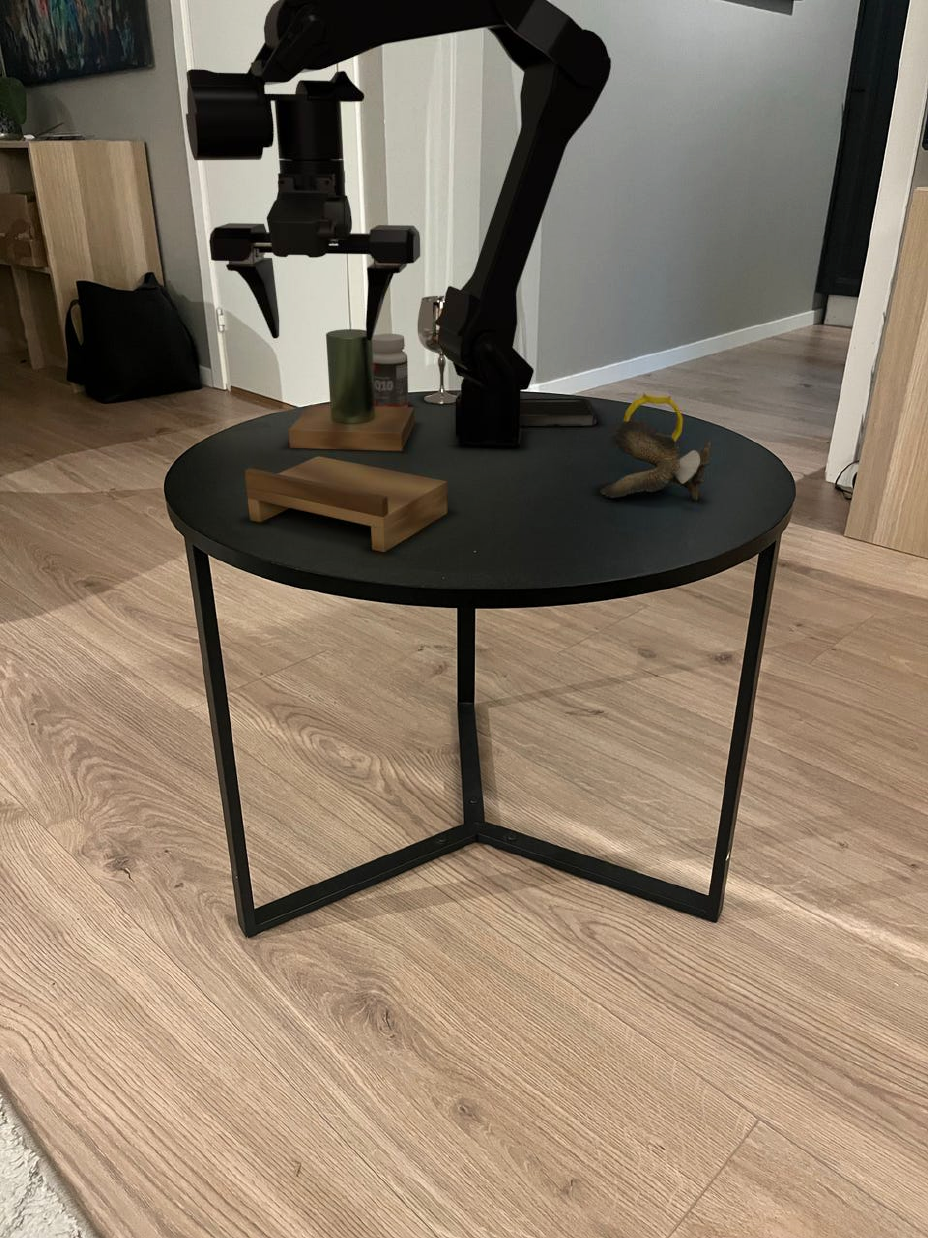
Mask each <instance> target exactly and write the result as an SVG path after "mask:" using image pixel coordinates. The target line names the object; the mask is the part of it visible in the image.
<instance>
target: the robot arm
mask: <svg viewBox="0 0 928 1238" xmlns="http://www.w3.org/2000/svg"><path fill="white" fill-rule="evenodd" d="M480 29H487V30H488V31H489V32H490V33H492V35H493V36H494V37H495V39H496V40H497V42H498V43H499V45H500V46H501V48H502V49H503V51H504V52H505V54H506V55H507V57H508V58H509V59H510V60H511V61H512V63H514V65H515V66H517V67H518V68H519V69H520V70H521V71H522V72H523V77H522V82H521V87H520V93H519V99H520V125H521V126H520V131H519V134H518V138H517V140H516V143H515V146H514V148H513V149H514V150H513V152H512V155H511V159H510V162H509V164H508V168H507V171H506V174H505V177H504V179H503V184H502V185H501V186H502V187H501V189H500V192H499V195H498V198H497V200H496V203H495V207H494V210H493V213H492V216H491V219H490V222H489V225H488V228H487V230H486V234H485V237H484V240H483V243H482V246H481V249H480V252H479V256H478V259H477V261H476V264H475V267H474V270H473V273H472V274H471V276H470V278H469V279H468V280H467V281H466V282H465V284H464V285H463V286H462V287H461V289H460V288H456V287H455V286H452V285H449V286H447V289H446V291H445V294H444V296H445V300H444V305H443V309H442V312H441V314H440V316H439V317H438V318H437V320H436V321H435V324H436V325H438V326H439V332H438V344H439V346H440V348H441V350H442V353H443V354H444V357H445V359H447V360H448V361H450V362H452V364H453V368H454V370H455V373H456V375H457V376H458V377H461V378H462V380H461V383H460V391H459V392H458V393H457V394H456V396H457V397H456V402H455V436H457V437H459V439H458V446H460V447H480V448H481V447H485V448H486V447H487V448H520V447H521V439H522V438H521V437H522V426H520V409H521V399H522V391H525V390H528V389H529V388H530V384H531V381H532V378H533V377H534V372H535V371H534V368H533V367H532V365H530V364H529V363H528V361H526V359H525V358H524V357H523V356H521V354H520V353H519V352H517V350H516V349H515V348H514V343H515V338H516V333H517V326H518V302H517V301H518V300H517V293H518V292H517V291H518V287H519V284H520V281H521V278H522V275H523V273H524V269H525V266H526V264H527V261H528V259H529V255H530V253H531V250H532V246H533V243H534V240H535V237H536V235H537V232H538V229H539V226H540V223H541V220H542V217H543V214H544V212H545V208H546V207H547V203H548V200H549V198H550V194H551V192H552V188H553V186H554V183H555V180H556V177H557V174H558V171H559V169H560V165H561V163H562V160H563V157H564V154H565V152H566V148H567V147H568V144H569V142H570V140H571V139H572V138H573V137H574V135H575V134H576V133H577V131H579V129H580V128H581V126H582V125H583V124H584V123H585V122H586V121H587V119H588V118H589V117H590V115H591V114H592V112H593V110H594V108H595V107H596V104H597V102H598V101H599V99H600V97H601V95H602V93H603V91H604V89H605V87H606V85H607V83H608V80H609V78H610V74H611V68H612V59H611V57H610V56H609V52H608V51H609V50H608V47H607V46H606V44H605V42H604V40H603V39H602V37H601V36H599V35H598V34H597V33H595V32H594V31H592V30H589V29H585V28H584V29H583V28H582V27H581V26H580V25H579V24H578V23H577V22H576V20H575V19H574V18H572V17H571V16H570V15H569V14H567V13H566V12H564V11H563V10H561V9H560V8H558V7H557V6H556V5H554V4H553V3H552V2H550V1H548V0H277V1H275V2H274V3H272V5H271V6H270V8H269V10H268V12H267V14H266V16H265V19H264V24H263V35H264V43H263V45H262V46H261V48H260V50H259V51H258V53H257V54H256V56H255V58H254V60H253V61H252V62H250V66H249V68H248V70H247V72H216V71H212V70H208V69H200V68H197V69H195V68H191V69H188V70H187V71H186V73H185V74H186V82H187V88H186V89H187V90H186V91H187V92H186V104H187V113H185V122H186V130H187V136H188V142H189V143H188V144H189V147H190V152H191V155H192V158H193V160H194V161H260V160H261V159H262V158H263V154H264V148H265V149H266V148H267V149H268V148H272V147H273V145H274V137H275V130H274V129H275V128H274V125H275V124H276V136H277V151H278V163H279V165H278V166H279V173H277V177H278V178H277V193H276V199H275V200H274V201H273V202H272V205H271V207H270V209H269V211H268V214H267V215H266V223H267V228H268V231H267V229H266V225H265V223H253V222H252V223H250V222H249V223H246V222H243V223H241V222H240V223H239V222H238V223H237V222H229V223H228V222H227V223H226V224H222V225H219V226H216V227H214V228H213V230H212V231H211V233H210V235H209V241H208V243H209V252H210V261H214V262H228V263H227V264H225V267H226V269H227V271H229V272H236V273H238V275H239V276H240V277H241V278H242V279H243V280H244V281H245V282H246V284H247V285H248V288H249V289H250V291H251V293H252V295H253V296H254V298H255V300H256V303H257V305H258V308H259V309H260V311H261V314H262V317H263V319H264V321H265V324H266V325H267V328H268V330H269V332H270V333H269V334H270V335H271V337H272V339H278V338H279V337H280V314H279V313H280V312H279V305H278V296H277V287H276V280H275V279H276V278H275V271H274V261H273V257H265V256H264V255H266V254H273V256H275V257H278V258H287V257H289V256H307V257H308V258H313V259H315V258H321V257H324V256H326V255H369V256H371V259H373V263H371V264H370V265H369V266H367V267H366V272H367V273H366V275H367V299H366V316H365V330H366V335H367V340H372V338H373V335H375V332H376V327H377V324H378V320H379V317H380V313H381V310H382V307H383V303H384V300H385V297H386V294H387V292H388V289H389V287H390V284H391V282H392V279H393V277H394V275H395V274H400V273H401V272H403V271H404V270H405V269H406V268H407V266H408V264H414V263H415V262H417V260H418V259H419V258H420V257H421V235H420V231H419V230H418V229H417V228H416V226H415V225H408V224H407V225H405V224H404V225H403V224H401V225H400V224H395V225H394V224H377V225H376V226H374V227H372V228H371V229H370V230H369V232H368V233H367V232H366V233H364V232H362V233H361V232H358V233H357V232H352V229H353V219H352V211H351V206H350V202H349V198H348V195H347V194H346V170H345V160H344V142H343V141H344V139H343V121H342V120H343V119H342V118H343V117H342V103H361V102H363V101H364V99H365V94H364V92H363V91H362V90H360V89H359V87H357V86H356V85H355V83H354V82H352V80H351V79H350V78H349V76H348V74H347V72H346V71H345V70H340V71H335V73H334V74H333V76H332V78H331V79H330V80H321V79H320V80H317V79H316V80H314V79H313V80H311V79H300V80H299V81H298V82H297V84H296V86H295V92H294V93H266V90H265V89H266V88H265V87H266V86H272V85H273V86H274V85H278V84H286V83H288V82H290V81H291V80H293V79H294V78H295V77H296V76H298V75H299V74H305V73H310V72H316V71H317V72H318V71H321V70H325V69H328V68H330V67H333V66H335V65H337V64H340V63H343V62H345V61H347V60H350V59H353V58H355V57H357V56H360V55H362V54H365V53H366V52H368V51H372V50H373V49H376V48H378V47H381V46H384V45H390V44H395V43H401V42H407V41H415V40H420V39H425V38H431V37H432V38H433V37H438V36H443V35H449V34H457V33H461V32H466V31H473V30H480ZM272 102H274V110H275V113H274V114H275V124H274V116H273V115H274V114H273V108H272Z"/></svg>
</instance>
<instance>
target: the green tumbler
mask: <svg viewBox="0 0 928 1238" xmlns="http://www.w3.org/2000/svg"><path fill="white" fill-rule="evenodd" d="M325 341H326V355H327V356H326V357H327V358H326V359H327V360H326V361H327V375H328V391H329V405H330V408H331V419H332V420H333V421H335V422H338V423H344V424H359V423H366V422H369V421H372V420H374V419H375V395H374V371H373V346H372V340H367V335H366V329H360V328H359V329H357V328H356V329H355V328H345V329H343V328H342V329H335V330H331V331H328V332H326V333H325Z"/></svg>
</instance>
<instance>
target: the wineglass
mask: <svg viewBox="0 0 928 1238" xmlns="http://www.w3.org/2000/svg"><path fill="white" fill-rule="evenodd" d="M444 300H445V295H430V296H424V297H422V298H421V300H420V305H419V309H418V315H417V336H418V340H419V342H420V344H421V345H422V346H423V347H424V348H425V349H426V350H428V351H430V352H432V353H435V354H438V355H439V356H438V357H437V366H438V372H439V389H438V391H437V392H435V393H432V394H428V395H425V397H424V398H423V400H424V401H425V402H427V403H431V404H441V405H442V404H443V405H445V404H446V405H447V404H453V403H456V397H457V394H451V393H448V392H447V391H446V389H445V384H444V383H445V382H444V381H445V380H444V379H445V378H444V377H445V375H444V374H445V367H446V363H447V362H446V356H445V355H444V354H443V353H442V350H441V348H440V346H439V344H438V332H439V326H438V325H436V324H435V321H436V320H437V318H438V317H439V316H440V314H441V312H442V309H443V305H444Z"/></svg>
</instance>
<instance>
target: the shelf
mask: <svg viewBox="0 0 928 1238" xmlns="http://www.w3.org/2000/svg"><path fill="white" fill-rule="evenodd" d="M244 478H245V486H246V495H247V504H248V506H247V507H248V514H249V520H250V521H251V522H256V523H262V522H265V521H266V520H269V519H271V518H273V517H275V516H277V515H279V514H281V513H283V512H285V511H287V510H290V509H293V510H298V511H303V512H307V513H310V514H315V515H319V516H323V517H329V518H333V519H337V520H341V521H346V522H349V523H350V522H351V523H355V524H359V525H363V526H369V527H370V532H371V549H372V550H373V551H377V552H381V553H385V552H387V551H389V550H391V549H392V548H394V547H395V546H397V545H399V544H400V543H402V542H404V541H405V540H407V539H409V538H410V537H411V536H413V535H415V534H416V533H418V532H419V531H421V530H423V529H425V528H426V527H428V526H430V525H431V524H433V523H434V522H436V521H437V520H439V519H441V518H442V517H444V516H446V515H448V481H447V480H442V479H438V478H432V477H427V476H420V475H417V474H411V473H407V472H401V471H396V470H390V469H386V468H382V467H375V466H370V465H367V464H366V465H365V464H360V463H355V462H351V461H344V460H340V459H334V458H329V457H324V456H319V455H318V456H315V457H313V458H310V459H309V460H306V461H304V462H302V463H299V464H297V465H295V466H292V467H290V468H288V469H286V470H283V471H281V472H278V473H276V472H271V471H267V470H262V469H258V468H257V469H256V468H252V467H249V468H247V469H245V470H244Z"/></svg>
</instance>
